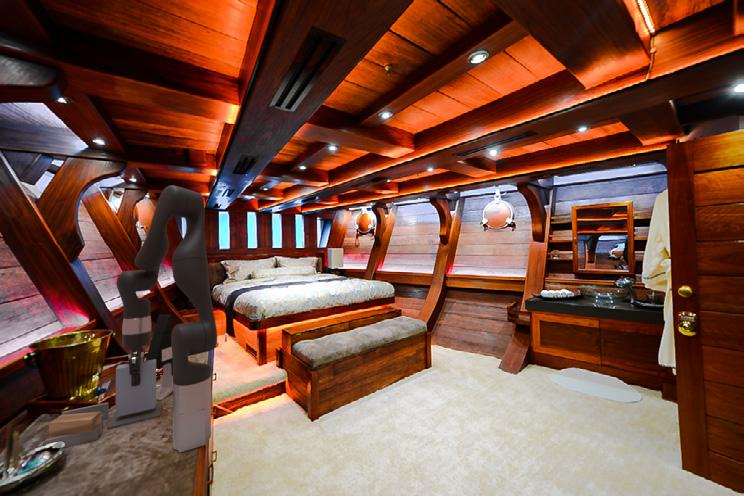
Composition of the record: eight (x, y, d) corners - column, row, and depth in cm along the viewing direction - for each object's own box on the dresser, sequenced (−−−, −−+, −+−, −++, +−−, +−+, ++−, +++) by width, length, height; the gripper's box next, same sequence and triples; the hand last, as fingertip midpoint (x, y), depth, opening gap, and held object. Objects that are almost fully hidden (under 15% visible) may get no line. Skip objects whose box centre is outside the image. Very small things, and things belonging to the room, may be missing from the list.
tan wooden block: (97, 439, 85) (97, 421, 85) (44, 452, 79) (44, 433, 79) (108, 417, 96) (108, 402, 96) (62, 428, 90) (62, 411, 90)
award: (154, 403, 105) (154, 318, 106) (142, 402, 106) (142, 318, 107) (188, 385, 120) (189, 311, 121) (178, 384, 121) (178, 310, 122)
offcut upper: (91, 431, 83) (91, 419, 83) (49, 435, 81) (48, 423, 81) (101, 423, 87) (101, 411, 87) (61, 427, 85) (61, 415, 85)
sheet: (155, 408, 98) (155, 362, 98) (115, 417, 92) (115, 369, 93) (156, 403, 101) (156, 359, 102) (118, 411, 96) (118, 365, 96)
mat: (159, 416, 96) (159, 415, 96) (106, 429, 89) (106, 427, 89) (161, 404, 104) (162, 402, 104) (113, 415, 98) (113, 413, 98)
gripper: (148, 333, 93) (148, 388, 93) (153, 325, 106) (153, 373, 105) (117, 337, 90) (117, 394, 89) (126, 328, 102) (126, 378, 101)
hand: (136, 382), depth 97 cm, fingers closed on sheet, 4 cm apart
